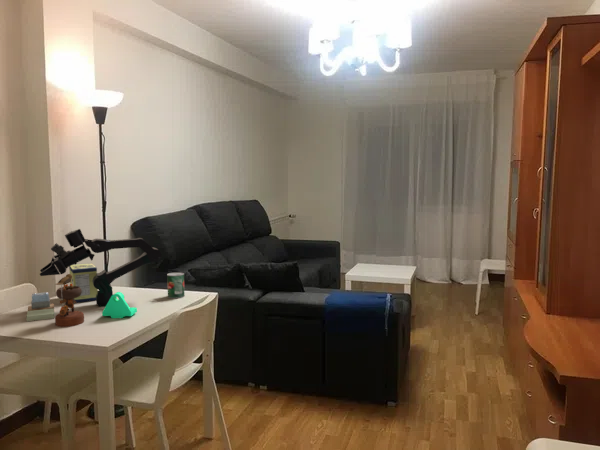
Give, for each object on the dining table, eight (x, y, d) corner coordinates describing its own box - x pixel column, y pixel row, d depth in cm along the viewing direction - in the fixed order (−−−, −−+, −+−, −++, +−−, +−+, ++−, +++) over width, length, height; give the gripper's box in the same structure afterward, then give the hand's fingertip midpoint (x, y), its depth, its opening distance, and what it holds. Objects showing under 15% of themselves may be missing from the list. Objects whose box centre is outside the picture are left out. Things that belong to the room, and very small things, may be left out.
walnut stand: (54, 308, 231) (53, 303, 230) (54, 311, 224) (53, 307, 224) (28, 310, 226) (28, 306, 226) (27, 314, 220) (27, 310, 220)
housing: (50, 304, 229) (49, 290, 228) (50, 307, 224) (49, 292, 224) (32, 306, 226) (31, 292, 225) (31, 309, 221) (30, 294, 221)
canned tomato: (164, 297, 250) (163, 274, 248) (176, 293, 256) (175, 271, 255) (176, 299, 245) (175, 276, 244) (188, 295, 252) (187, 273, 251)
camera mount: (137, 313, 222) (136, 289, 221) (131, 318, 214) (130, 293, 213) (109, 313, 222) (108, 289, 221) (102, 318, 214) (101, 293, 213)
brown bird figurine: (80, 327, 202) (73, 276, 200) (50, 330, 200) (43, 279, 198) (90, 316, 217) (83, 268, 215) (62, 319, 215) (55, 272, 213)
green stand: (54, 313, 222) (53, 308, 222) (54, 318, 214) (54, 313, 214) (27, 315, 218) (27, 311, 218) (26, 321, 210) (26, 316, 210)
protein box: (93, 293, 258) (91, 262, 256) (98, 300, 244) (97, 267, 243) (70, 296, 252) (68, 264, 251) (74, 303, 239) (72, 269, 237)
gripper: (66, 237, 235) (31, 253, 230) (67, 242, 219) (29, 259, 213) (78, 258, 238) (44, 275, 233) (80, 265, 222) (43, 283, 216)
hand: (40, 273), depth 224 cm, fingers open, 9 cm apart
